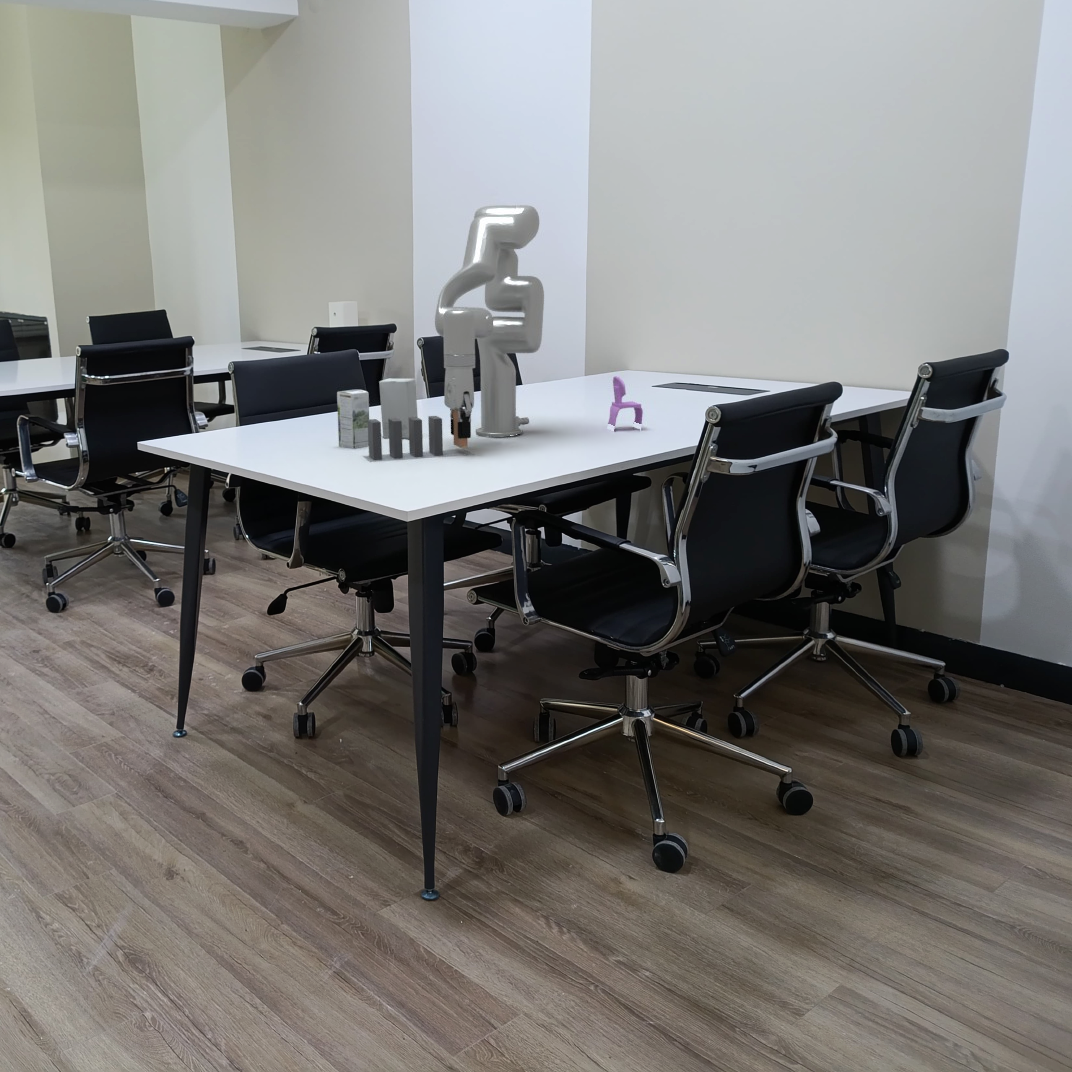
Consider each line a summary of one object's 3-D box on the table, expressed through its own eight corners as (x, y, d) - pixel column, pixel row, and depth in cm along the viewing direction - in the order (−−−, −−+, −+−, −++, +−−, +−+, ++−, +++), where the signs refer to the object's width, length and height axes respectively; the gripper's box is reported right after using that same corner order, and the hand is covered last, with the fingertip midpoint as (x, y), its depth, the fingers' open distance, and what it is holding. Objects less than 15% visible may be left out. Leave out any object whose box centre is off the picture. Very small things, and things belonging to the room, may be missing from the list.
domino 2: (397, 454, 256) (396, 418, 253) (402, 458, 251) (401, 420, 249) (389, 455, 255) (388, 418, 253) (394, 458, 250) (393, 421, 248)
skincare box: (419, 435, 285) (417, 378, 281) (409, 439, 279) (408, 381, 275) (390, 434, 288) (388, 377, 284) (380, 438, 281) (378, 380, 277)
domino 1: (377, 456, 254) (375, 419, 252) (382, 459, 249) (380, 422, 247) (369, 456, 253) (367, 419, 251) (373, 460, 249) (372, 422, 246)
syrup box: (355, 444, 272) (353, 388, 268) (371, 447, 268) (368, 390, 264) (338, 447, 267) (335, 390, 264) (354, 450, 264) (351, 392, 260)
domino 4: (437, 452, 259) (436, 415, 257) (442, 455, 255) (442, 418, 252) (429, 452, 259) (428, 416, 256) (434, 456, 254) (434, 419, 252)
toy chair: (644, 431, 294) (645, 377, 290) (614, 432, 291) (615, 378, 287) (633, 426, 301) (634, 374, 297) (604, 427, 299) (605, 375, 295)
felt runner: (465, 450, 263) (465, 449, 263) (475, 456, 256) (475, 454, 256) (362, 457, 254) (362, 455, 254) (370, 463, 247) (370, 461, 247)
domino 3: (417, 453, 257) (416, 416, 255) (423, 456, 253) (421, 419, 251) (409, 453, 257) (408, 417, 254) (414, 457, 252) (413, 420, 250)
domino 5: (461, 443, 261) (460, 407, 259) (467, 446, 256) (467, 410, 254) (453, 444, 260) (453, 408, 258) (459, 447, 256) (459, 410, 253)
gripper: (434, 359, 260) (436, 432, 264) (455, 365, 244) (456, 442, 249) (463, 358, 262) (464, 430, 267) (485, 364, 247) (486, 440, 251)
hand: (460, 435), depth 258 cm, fingers closed on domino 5, 4 cm apart
